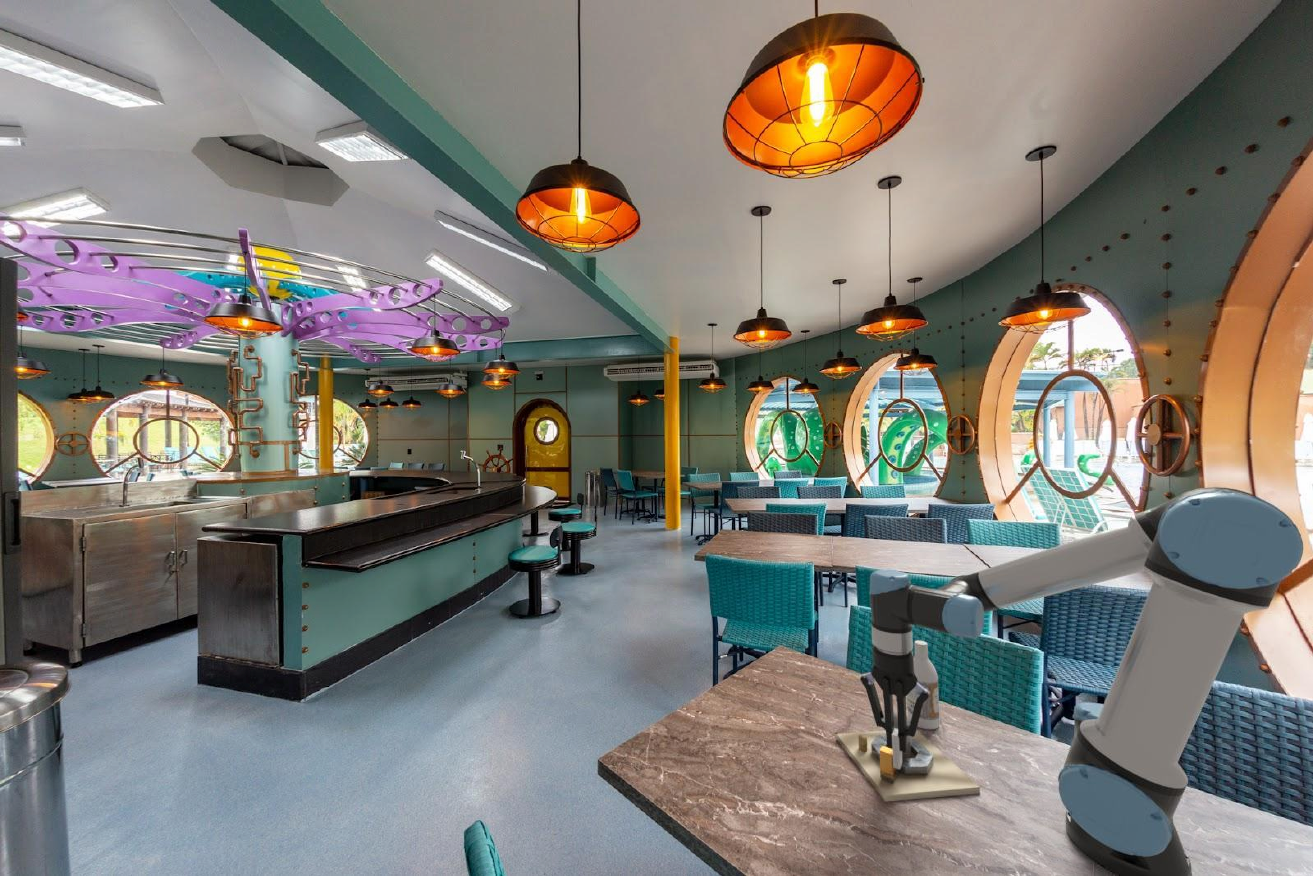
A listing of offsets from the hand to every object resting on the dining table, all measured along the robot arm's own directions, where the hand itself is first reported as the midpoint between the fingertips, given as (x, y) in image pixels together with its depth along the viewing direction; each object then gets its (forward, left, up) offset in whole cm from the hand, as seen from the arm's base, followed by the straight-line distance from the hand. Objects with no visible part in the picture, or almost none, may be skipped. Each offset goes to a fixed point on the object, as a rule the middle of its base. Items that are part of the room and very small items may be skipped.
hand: (897, 764), depth 95 cm
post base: (+7, -5, -5) cm, 10 cm away
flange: (+6, -4, -3) cm, 8 cm away
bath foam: (+21, -20, -5) cm, 30 cm away
